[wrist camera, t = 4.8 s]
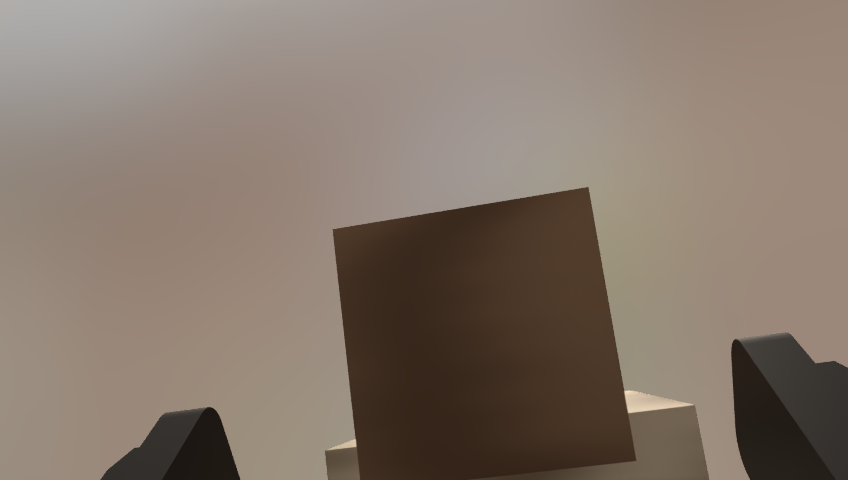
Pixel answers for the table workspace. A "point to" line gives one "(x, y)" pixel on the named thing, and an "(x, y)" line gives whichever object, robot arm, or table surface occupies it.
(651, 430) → the wooden block
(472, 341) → the bar
